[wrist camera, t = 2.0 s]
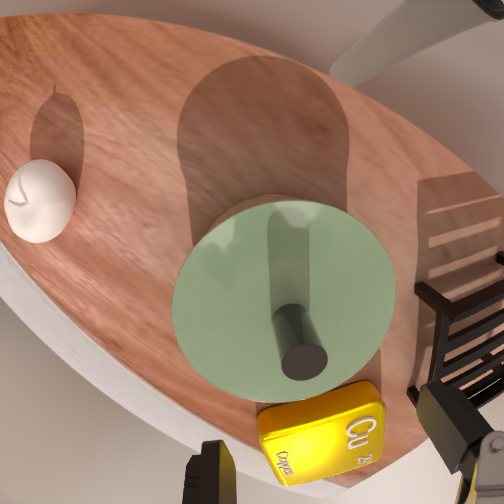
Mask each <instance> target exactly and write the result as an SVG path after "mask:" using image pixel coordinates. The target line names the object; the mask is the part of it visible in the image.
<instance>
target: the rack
mask: <svg viewBox="0 0 504 504" xmlns="http://www.w3.org/2000/svg"><path fill="white" fill-rule="evenodd" d="M496 262H497V263H499V264H501V265H503V266H504V252H499V253H497V259H496ZM415 294H416V295H417V296H418V297H419V298H421V299H422V300H423V301H424V302H425V303H427V304H428V305H429V306H430V307H431V308H432V309H434V310H435V311H436V324H435V333H434V342H433V350H432V357H431V364H430V370H429V376H428V382H430V381H432V380H435V379H437V378H438V379H441V378H443V377H445V376H447V375H449V374H451V373H453V372H455V371H457V370H459V369H461V368H462V367H464V366H466V365H468V364H470V363H472V362H473V361H475V360H477V359H479V358H481V359H482V360H483V362H481V363H480V364H478V365H476V366H474V367H473V368H471V369H469V370H467V371H465V372H464V373H462V374H460V375H458V376H456V377H454V378H452V379H450V380H448V381H446V382H444V385H445V386H446V387H447V386H449V385H453V386H454V387H456V388H459V387H461V386H463V385H465V384H467V383H469V382H470V381H472V380H474V379H476V378H477V377H479V376H481V375H482V374H484V373H486V372H487V371H489V370H490V369H492V370H493V371H494V372H492V373H490V374H489V375H487V376H486V377H484V378H482V379H481V380H479V381H477V382H476V383H474V384H472V385H470V386H469V387H467V388H465V389H463V390H462V392H463V393H464V394H465V395H466V397H467V398H469V397H471V396H473V395H474V394H476V393H478V392H479V391H481V390H483V389H484V388H486V387H487V386H489V385H491V384H492V383H494V382H495V381H497V380H498V379H500V378H501V379H500V380H498V381H497V382H496V383H494V384H492V385H491V386H489V387H488V388H486V389H485V390H483V391H481V392H480V393H478V394H476V395H475V396H473V397H471V398H470V399H468V400H470V401H471V403H472V404H473V406H475V408H476V409H477V410H478V409H479V408H481V407H482V406H484V405H485V404H487V403H489V402H490V401H492V400H493V399H495V398H496V397H498V396H499V395H500V394H502V393H503V392H504V364H503V365H502V364H501V362H503V361H504V349H503V350H501V351H500V352H498V353H496V354H495V355H492V354H491V353H490V352H491V351H492V350H494V349H496V348H497V347H499V346H501V345H502V344H504V330H503V331H501V332H500V333H498V334H496V335H495V336H493V337H491V338H489V339H488V340H486V341H484V342H482V343H481V344H479V345H477V346H475V347H473V348H471V349H469V350H468V351H466V352H464V353H462V354H460V355H458V356H456V357H454V358H452V359H450V360H448V361H446V362H444V359H445V354H446V353H448V352H450V351H452V350H454V349H456V348H458V347H460V346H462V345H464V344H466V343H468V342H470V341H472V340H474V339H476V338H478V337H480V336H482V335H483V334H485V333H487V332H489V331H491V330H492V329H494V328H496V327H497V326H499V325H501V324H503V323H504V308H503V309H501V310H499V311H497V312H495V313H494V314H492V315H490V316H488V317H486V318H484V319H482V320H480V321H478V322H476V323H474V324H472V325H470V326H468V327H466V328H464V329H462V330H460V331H458V332H456V333H454V334H452V335H450V336H448V333H449V325H451V324H453V323H456V322H458V321H460V320H462V319H464V318H467V317H469V316H471V315H473V314H475V313H477V312H479V311H481V310H483V309H485V308H487V307H489V306H491V305H493V304H494V303H496V302H498V301H500V300H502V299H504V279H503V280H501V281H499V282H497V283H494V284H492V285H490V286H488V287H486V288H484V289H482V290H480V291H477V292H475V293H473V294H471V295H469V296H466V297H464V298H462V299H459V300H457V301H455V302H451V301H450V300H448V299H447V298H445V297H444V296H442V295H441V294H440V293H438V292H437V291H436V290H434V289H433V288H432V287H430V286H429V285H428V284H426V283H425V282H420V283H417V284H415ZM428 382H427V383H428ZM419 393H420V392H419V391H418V390H417V388H416V387H415V386H413V387H411V388H408V389H407V396H408V397H409V399H410V400H411V402H412V403H413V405H414V406H415V408H417V403H418V398H419ZM419 422H420V421H419ZM422 427H423V426H422ZM424 430H425V429H424ZM425 432H426V431H425ZM427 435H428V434H427Z"/></svg>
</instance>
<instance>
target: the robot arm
mask: <svg viewBox="0 0 504 504" xmlns="http://www.w3.org/2000/svg"><path fill="white" fill-rule="evenodd" d="M477 1H478V2H479V3H480V4H481V5H483V6H484V7H485V8H486V9H488V10H489V11H491V12H494V13H499V12H501V11H502V10H504V0H477ZM416 412H417V417H418V419H419V421H420V423H421V425H422V426H423V428H424V429H425V431H426V433H427V434H428V436H429V438H430V439H431V441H432V442H433V444H434V446H435V447H436V449H437V451H438V452H439V454H440V456H441V457H442V459H443V461H444V462H445V464H446V466H447V468H448V469H449V471H450V473H451V474H454V473H456V472H457V471H459V470H460V471H461V473H462V476H461V480H460V484H459V488H458V492H457V496H456V500H455V504H504V432H503V431H494V429H492V427H491V426H490V425H489V424H488V423H487V421H486V420H485V419H484V417H483V416H482V415H481V414H480V412H479V411H478V410H477V409H476V408H475V406H473V404H472V403H471V401H470V400H468V398H467V397H466V395H465V394H464V393H463V392H462V391H461V390H460V389H458V388H456V387H454V386H453V385H449V386H447V387H446V386H445V385H444V383H443V382H442V381H441V380H440V379H438V378H437V379H435V380H432V381H430V382H428V383H426V384H424V385H422V386H421V387H420V393H419V398H418V403H417V408H416ZM184 486H185V487H184V491H183V500H182V504H237V499H236V498H237V497H236V468H235V463H234V460H233V458H232V456H231V454H230V452H229V450H228V449H227V447H226V445H225V443H224V441H223V440H214V441H204V442H203V443H202V449H201V455H192V457H191V458H190V460H189V462H188V463H187V465H186V473H185V481H184Z"/></svg>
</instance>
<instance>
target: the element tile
mask: <svg viewBox="0 0 504 504" xmlns="http://www.w3.org/2000/svg"><path fill="white" fill-rule="evenodd" d="M385 416H386V407H385V403H384V402H383V400H382V398H381V396H380V394H379V393H378V391H377V389H376V387H375V386H374V384H373V383H372V382H369V381H360V382H356V383H353V384H351V385H348V386H345V387H342V388H338V389H335V390H332V391H329V392H326V393H322V394H320V395H317V396H314V397H310V398H307V399H303V400H298V401H294V402H290V403H286V404H282V405H278V406H274V407H270V408H267V409H265V410H263V411H261V413H260V414H259V415H258V418H257V425H258V436H259V444H260V446H261V448H262V450H263V452H264V454H265V456H266V458H267V460H268V462H269V464H270V466H271V468H272V470H273V472H274V474H275V476H276V478H277V480H278V482H279V483H280V484H282V485H285V486H294V485H299V484H303V483H307V482H311V481H315V480H319V479H323V478H326V477H330V476H333V475H337V474H340V473H343V472H347V471H350V470H353V469H356V468H359V467H361V466H364V465H367V464H370V463H372V462H374V461H377V460H378V459H379V458H380V456H381V455H382V453H383V444H384V432H385Z"/></svg>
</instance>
